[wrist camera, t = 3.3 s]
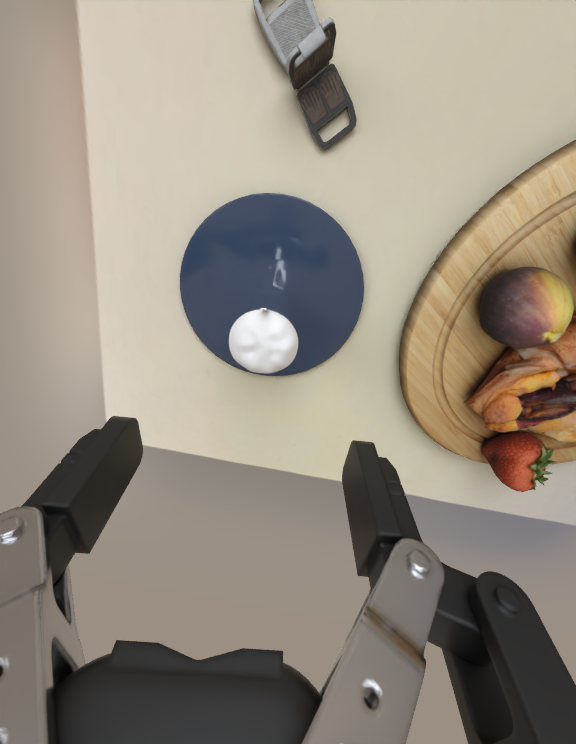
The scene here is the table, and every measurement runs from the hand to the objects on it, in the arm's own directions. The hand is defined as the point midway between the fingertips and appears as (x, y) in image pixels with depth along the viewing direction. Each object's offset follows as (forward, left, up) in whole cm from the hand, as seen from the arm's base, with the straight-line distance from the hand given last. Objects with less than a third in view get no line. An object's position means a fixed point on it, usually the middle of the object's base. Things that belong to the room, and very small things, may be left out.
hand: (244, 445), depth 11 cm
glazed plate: (0, 0, -18) cm, 18 cm away
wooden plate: (+28, 0, -18) cm, 33 cm away
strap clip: (+1, +15, -18) cm, 24 cm away
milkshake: (0, 0, -18) cm, 18 cm away
